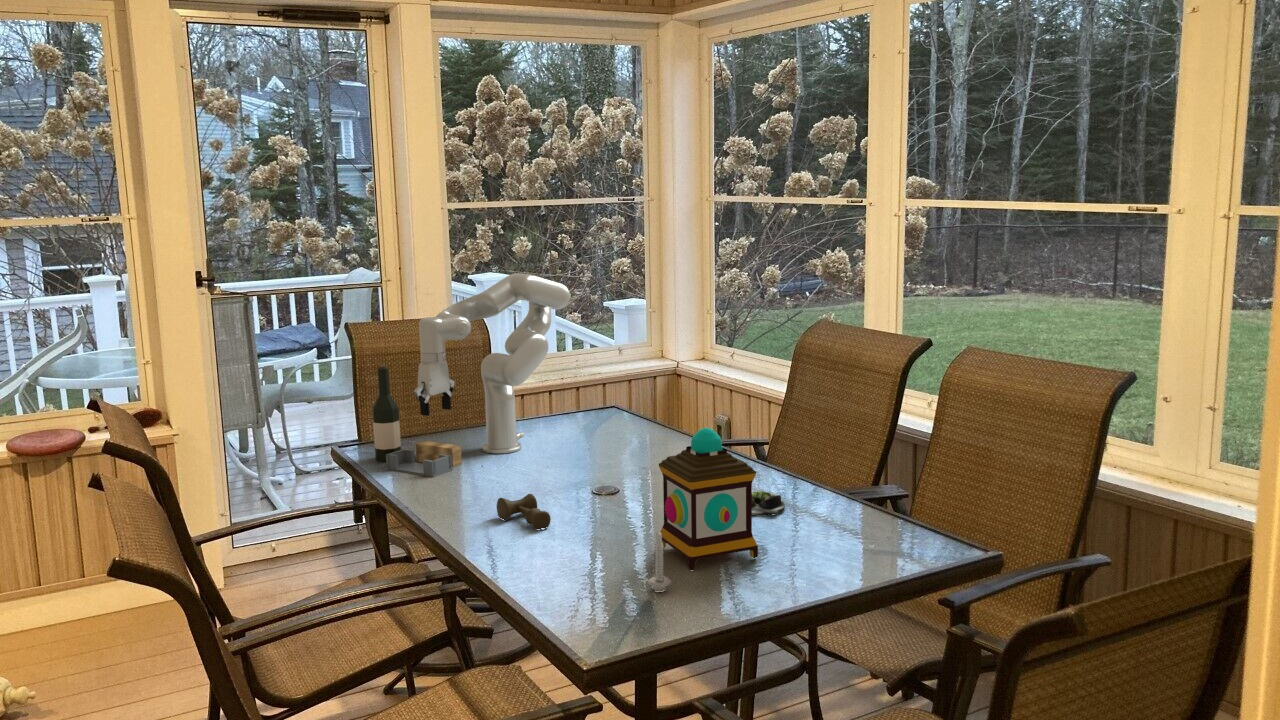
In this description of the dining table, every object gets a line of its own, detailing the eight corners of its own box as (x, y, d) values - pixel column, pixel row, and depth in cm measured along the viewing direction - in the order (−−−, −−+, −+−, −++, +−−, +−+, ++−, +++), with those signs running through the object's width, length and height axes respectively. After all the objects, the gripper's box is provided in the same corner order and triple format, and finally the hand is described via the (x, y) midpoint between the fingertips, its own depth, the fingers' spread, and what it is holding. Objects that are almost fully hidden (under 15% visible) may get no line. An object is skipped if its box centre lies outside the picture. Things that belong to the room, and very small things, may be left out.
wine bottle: (398, 462, 324) (392, 368, 319) (371, 462, 324) (365, 368, 319) (404, 455, 332) (399, 363, 327) (379, 455, 333) (373, 363, 327)
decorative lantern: (687, 575, 226) (685, 442, 221) (650, 547, 244) (648, 423, 239) (766, 561, 234) (767, 431, 229) (725, 534, 252) (724, 414, 247)
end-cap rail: (386, 469, 316) (385, 454, 316) (405, 462, 324) (404, 448, 323) (433, 477, 307) (432, 462, 306) (452, 470, 314) (451, 455, 313)
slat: (416, 461, 325) (415, 443, 324) (425, 458, 328) (424, 440, 327) (453, 467, 317) (452, 448, 316) (461, 464, 321) (460, 445, 320)
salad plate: (712, 520, 264) (712, 502, 263) (708, 498, 282) (708, 482, 281) (788, 519, 264) (788, 501, 263) (779, 497, 281) (779, 481, 281)
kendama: (525, 536, 255) (489, 514, 271) (559, 529, 260) (522, 508, 277) (525, 513, 254) (489, 492, 270) (559, 507, 259) (522, 486, 276)
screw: (666, 596, 215) (645, 593, 217) (674, 587, 220) (653, 585, 221) (665, 536, 213) (643, 534, 215) (673, 529, 217) (651, 526, 219)
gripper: (442, 352, 326) (445, 405, 329) (404, 361, 312) (407, 416, 315) (461, 354, 323) (463, 408, 326) (423, 362, 308) (426, 419, 311)
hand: (436, 412), depth 320 cm, fingers open, 9 cm apart
